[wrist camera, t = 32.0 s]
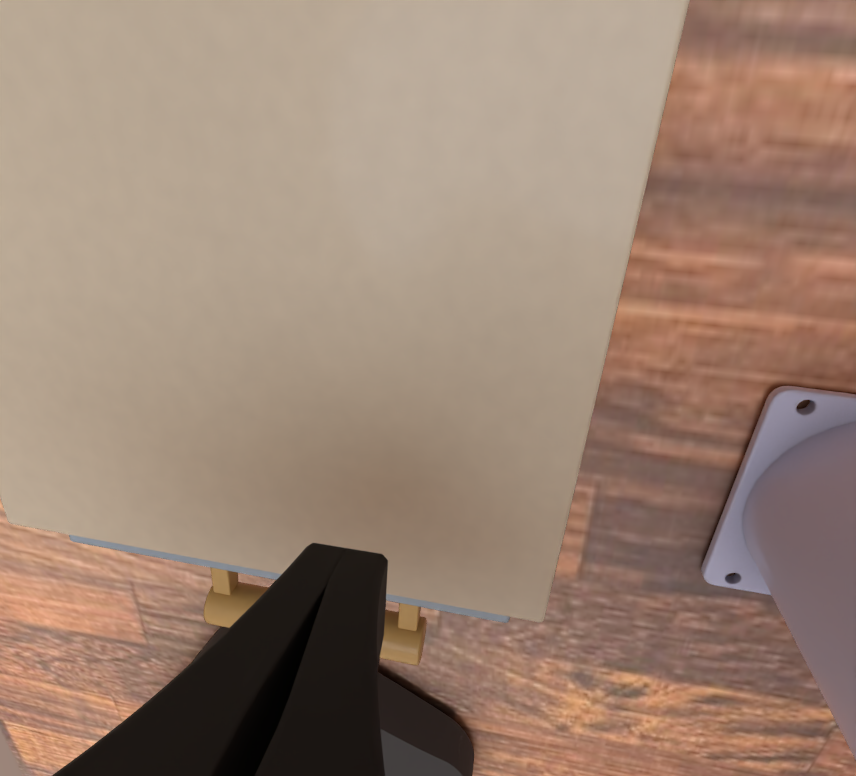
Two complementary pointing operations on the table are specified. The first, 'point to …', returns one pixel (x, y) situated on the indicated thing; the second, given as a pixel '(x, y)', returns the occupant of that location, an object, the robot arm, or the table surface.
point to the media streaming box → (414, 733)
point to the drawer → (236, 597)
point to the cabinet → (319, 273)
